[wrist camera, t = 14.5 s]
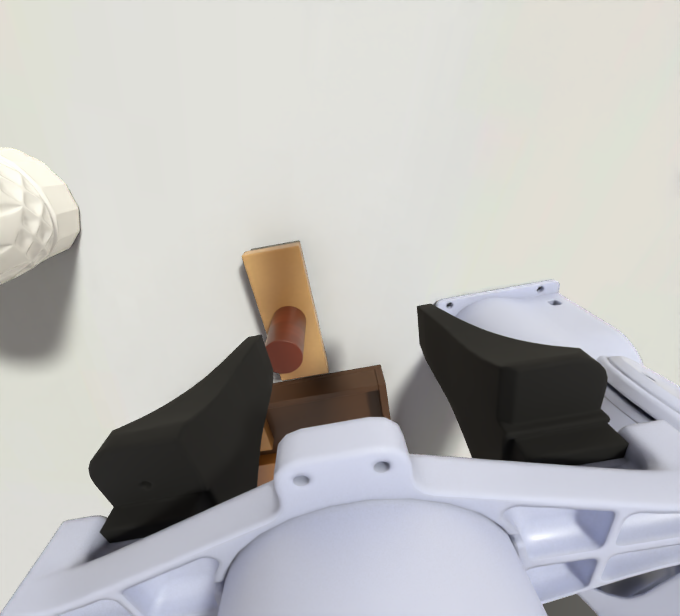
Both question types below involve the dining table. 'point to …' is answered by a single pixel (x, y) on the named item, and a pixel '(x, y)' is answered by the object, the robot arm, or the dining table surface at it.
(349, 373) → the tray
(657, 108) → the dining table surface
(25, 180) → the white cup
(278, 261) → the wooden stamp
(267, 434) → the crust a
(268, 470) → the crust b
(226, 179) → the dining table surface
